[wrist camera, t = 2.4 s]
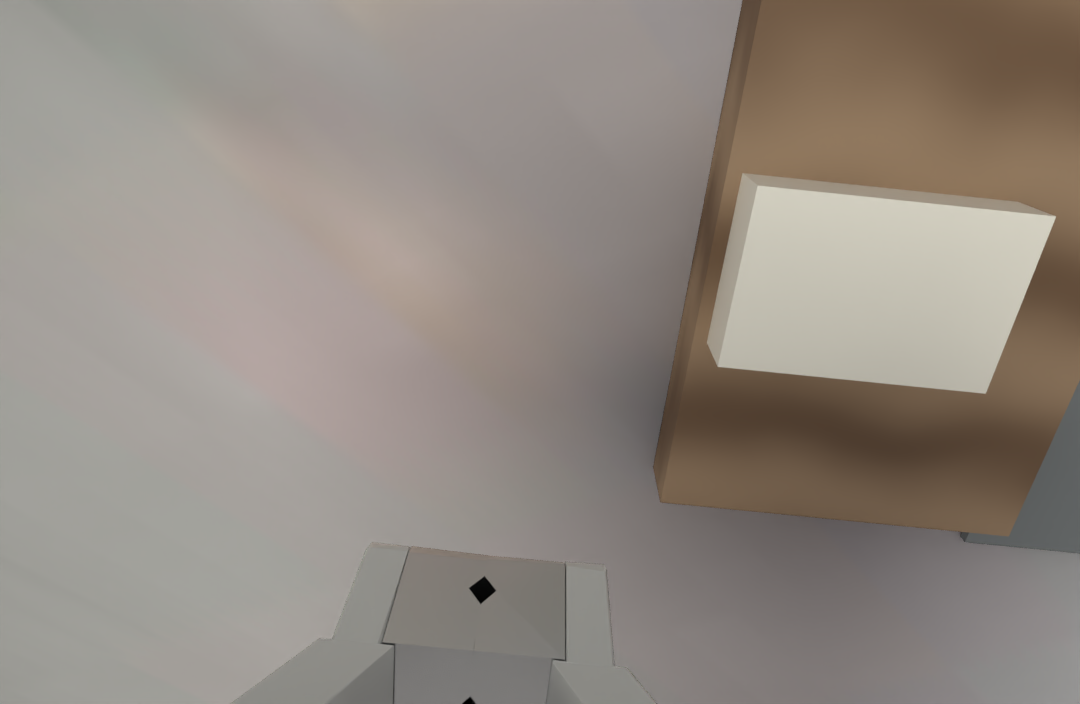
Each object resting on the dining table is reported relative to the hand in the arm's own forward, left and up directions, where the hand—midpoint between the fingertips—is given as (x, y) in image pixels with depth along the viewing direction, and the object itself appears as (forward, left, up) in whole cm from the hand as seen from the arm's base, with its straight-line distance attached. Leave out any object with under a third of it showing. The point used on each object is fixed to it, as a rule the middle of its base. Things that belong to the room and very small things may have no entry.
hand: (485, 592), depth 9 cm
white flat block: (0, -11, -17) cm, 20 cm away
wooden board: (0, -13, -19) cm, 23 cm away
